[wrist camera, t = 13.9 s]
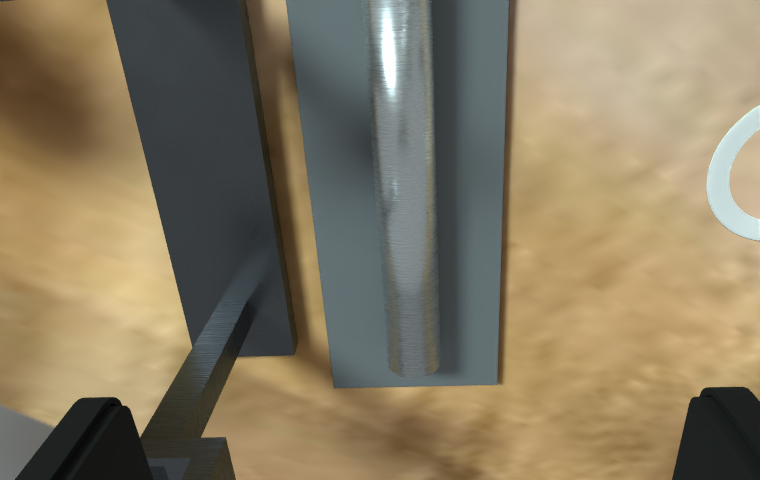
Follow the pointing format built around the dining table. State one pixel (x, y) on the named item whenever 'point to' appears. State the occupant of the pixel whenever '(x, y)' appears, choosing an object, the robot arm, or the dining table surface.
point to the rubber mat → (453, 185)
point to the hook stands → (206, 209)
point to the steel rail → (405, 178)
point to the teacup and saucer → (719, 178)
